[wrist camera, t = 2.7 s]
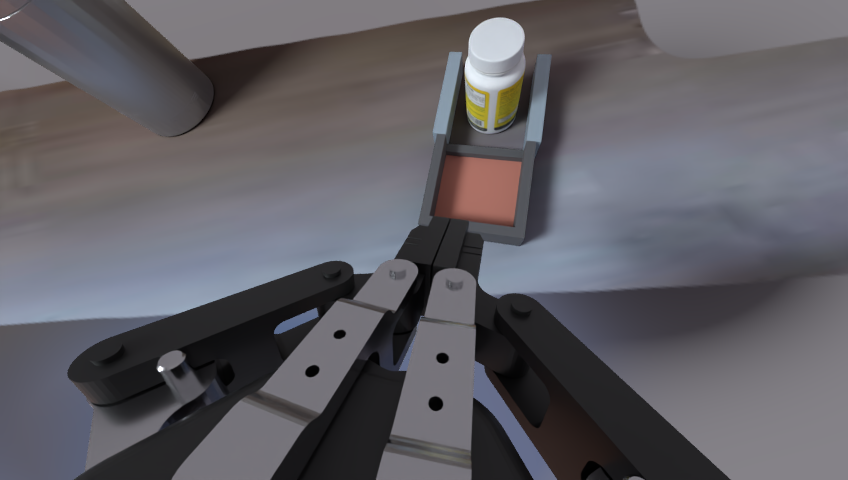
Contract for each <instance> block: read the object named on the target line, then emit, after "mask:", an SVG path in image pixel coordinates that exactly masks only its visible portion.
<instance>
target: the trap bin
mask: <svg viewBox="0 0 848 480" xmlns="http://www.w3.org/2000/svg"><path fill="white" fill-rule="evenodd" d="M535 148H536V141H526V144H525V148H524V150H516V149H504V148H493V147H481V146H469V145H458V144H447V140H446V134H437V136H436V141H435V145H434V150H433V155H432V160H431V165H430V169H429V174H428V179H427V184H426V189H425V194H424V198H423V203H422V208H421V213H420V218H419V222H418V224H419V225H421V226H428V225H429V223H430V221H431V219H432V218H433V216H439V217H446V218H451V219H452V218H454V219H461V220H468V221H469V228H468V232H470V233H477V234H480V235H481V237H482V239H483V241H489V242H495V243H502V244H509V245H516V246H520V245H521V243H522V242H523V240H524V238H525V230H526V222H527V213H528V205H529V197H530V189H531V181H532V173H533V164H534V156H535Z"/></svg>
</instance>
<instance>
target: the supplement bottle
mask: <svg viewBox="0 0 848 480" xmlns="http://www.w3.org/2000/svg"><path fill="white" fill-rule="evenodd" d="M524 42H525V35H524V31H523V29H522V27H521V26H520V25H519V24H518V23H517V22H515V21H513V20H511V19H508V18H493V19H489V20H486V21H484V22H482V23H481V24H479V25H478V26H477V27H476V28H475V29H474V30H473V32H472V33H471V36H470V39H469V53H468V54H469V56H468V57H467V60H466V63H465V89H466V107H467V118H468V121H469V123H470V125H471V126H472V127H473V128H474V129H475V130H477V131H479V132H481V133H485V134H494V133H498V132H501V131H504V130H505V129H507V128H508V127H509V126H510V125H511V124H512V123H513V121H514V119H515V117H516V114H517V108H518V103H519V98H520V93H521V88H522V82H523V77H524V72H525V56H524V53H523V48H524Z"/></svg>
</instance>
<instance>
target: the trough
mask: <svg viewBox="0 0 848 480" xmlns="http://www.w3.org/2000/svg"><path fill="white" fill-rule="evenodd" d="M551 56H552V55H549V54H538V56H537V60H536V64H535V68H534V73H533V78H532V85H531V93H530V100H529V108H528V115H527V123H526V130H525V138H524V146H523V150H524V148H525V144H526V141H536V148H535V156H534V157H536V155H537V152H538V149H539V147H540V144H541V140H542V131H543V123H544V115H545V106H546V98H547V89H548V81H549V72H550V64H551ZM462 75H463V62H462V52H450V53H449V58H448V63H447V67H446V72H445V77H444V82H443V86H442V91H441V96H440V101H439V105H438V110H437V115H436V120H435V124H434V129H433V137H434V142H435V141H436V136H437V134H446V140H447V144H449V141H450V136H451V131H452V126H453V121H454V116H455V111H456V106H457V100H458V95H459V90H460V85H461V80H462Z"/></svg>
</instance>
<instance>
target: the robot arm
mask: <svg viewBox="0 0 848 480" xmlns="http://www.w3.org/2000/svg"><path fill="white" fill-rule="evenodd" d="M0 41H1V42H2V43H4V44H6V45H7V46H9V47H11V48H13V49H14V50H16V51H18V52H19V53H21V54H23V55H25V56H26V57H28V58H29V59H31V60H33V61H34V62H36V63H38V64H39V65H41V66H43V67H45V68H46V69H48V70H50V71H51V72H53V73H55V74H56V75H58V76H60V77H61V78H63V79H65V80H66V81H68V82H70V83H71V84H73V85H75V86H76V87H78V88H80V89H82V90H83V91H85V92H87V93H88V94H90V95H92V96H93V97H95V98H97V99H98V100H100V101H102V102H103V103H105V104H107V105H108V106H110V107H112V108H114V109H115V110H117V111H118V112H120V113H122V114H123V115H125V116H127V117H128V118H130V119H132V120H134V121H135V122H137V123H139V124H140V125H142V126H144V127H145V128H147V129H149V130H150V131H152V132H154V133H156V134H158V135H160V136H166V137H167V136H176V135H179V134H182V133H184V132H186V131H188V130H190V129H191V128H193V127H194V126H196V125H197V124H198V123H199V122H200V121H201V120H202V119H203V117H204V116H205V115H206V114H207V112H208V110H209V108H210V106H211V104H212V101H213V95H214V90H213V85H212V82H211V81H210V79H209V78H208V77H207V76H206V75H205V74H204V73H203V72H202V71H201V70H200V69H199V68H197V67H196V66H195V65H194V64H193V63H192V62H191V61H190V60H189V59H188V58H187V57H185V56H184V55H183V54H182V53H181V52H180V51H179V50H178V49H177V48H176V47H175V46H174V45H173V44H172V43H170V42H169V41H168V40H167V39H166V38H165V37H164V36H163V35H162V34H161V33H160V32H158V31H157V30H156V29H155V28H154V27H153V26H152V25H151V24H150V23H149V22H148V21H146V20H145V19H144V18H143V17H142V16H141V15H140V14H139V13H138V12H137V11H136V10H135V9H133V8H132V7H131V6H130V5H129V4H128V3H127V2H126V1H125V0H0ZM468 228H469V221H468V220H461V219H454V218H452V219H451V218H446V217H439V216H433V218H432V219H431V221H430V223H429V225H428V226H421V225H419V226H418V227H416V228H415V229H413V230H411V232H410V234H409V235H408V238H407V239H406V240H405V242H404V244H403V245H402V247H401V249H400V250H399V252H398V254H397V255H396V257H395V259H393V260H389V261H386V262H384V263H382V264H381V265H380V266H379V267H378V268H377V270H376V271H375V272H374V273H370V274H354V272H353V268H352V266H351V265H350V264H348V263H346V262H342V261H330V262H326V263H322V264H320V265H317V266H314V267H311V268H308V269H305V270H302V271H299V272H297V273H294V274H291V275H288V276H285V277H282V278H279V279H277V280H274V281H271V282H268V283H265V284H262V285H259V286H256V287H254V288H251V289H248V290H245V291H242V292H239V293H236V294H233V295H231V296H228V297H225V298H222V299H219V300H216V301H213V302H211V303H208V304H205V305H202V306H199V307H196V308H193V309H190V310H188V311H185V312H182V313H179V314H176V315H173V316H170V317H168V318H165V319H162V320H159V321H156V322H153V323H150V324H147V325H145V326H142V327H139V328H136V329H133V330H130V331H127V332H125V333H122V334H119V335H116V336H113V337H110V338H108V339H105V340H103V341H101V342H99V343H97V344H95V345H93V346H92V347H90V348H88V349H87V350H86V351H84V352H83V353H82V354H80V355H79V356H78V357H77V358H76V359H75V360H74V361H73V362H72V364H71V365H70V367H69V369H68V378H69V379H70V380H71V381H72V382H73V383H74V385H75V386H76V387H77V388H78V389H79V390H80V391H81V392H82V393H83V394H84V395H85V396H86V398H87V401H88V403H89V404H90V405H91V406H92V407H93V408H94V412H93V418H92V425H91V432H90V439H89V446H88V453H87V460H86V467H85V472H84V473H82V474H81V475H79V476H78V477H77V478H75V479H74V480H533V478H532V476H531V475H530V473H529V471H528V469H527V468H526V466H525V464H524V463H523V461H522V459H521V458H520V456H519V454H518V452H517V451H516V449H515V447H514V445H513V444H512V442H511V440H510V439H509V437H508V435H507V434H506V432H505V430H504V429H503V427H502V425H501V424H500V423H499V422H498V420H497V419H496V418H495V416H494V415H493V414H492V413H491V412H490V411H489V410H488V409H487V408H486V407H485V406H484V405H482V404H481V403H480V402H479V401H478V400H476V399H475V398H473V385H474V361H477V362H479V363H481V364H482V365H484V368H485V372H486V375H487V377H488V378H489V380H490V381H491V383H492V384H493V385H494V387H495V388H496V390H497V391H498V393H499V394H500V396H501V397H502V398H503V400H504V401H505V403H506V405H507V406H508V407H509V409H510V410H511V412H512V413H513V415H514V416H515V418H516V419H517V421H518V422H519V424H520V425H521V427H522V428H523V430H524V431H525V433H526V434H527V436H528V437H529V438H530V440H531V441H532V443H533V444H534V446H535V447H536V449H537V450H538V452H539V453H540V455H541V456H542V457H543V459H544V461H545V462H546V463H547V465H548V466H549V468H550V469H551V471H552V472H553V474H554V475H555V477H556V478H557V480H730V479H729V478H728V477H727V476H726V475H725V474H724V473H723V472H722V471H720V470H719V469H718V468H717V467H716V466H715V465H714V464H713V463H712V462H711V461H710V460H709V459H708V458H706V457H705V456H704V455H703V454H702V453H701V452H700V451H699V450H698V449H697V448H696V447H695V446H694V445H692V444H691V443H690V442H689V441H688V440H687V439H686V438H685V437H684V436H683V435H682V434H681V433H679V432H678V431H677V430H676V429H675V428H674V427H673V426H672V425H671V424H670V423H669V422H667V421H666V420H665V419H664V418H663V417H662V416H661V415H660V414H659V413H658V412H657V411H656V410H654V409H653V408H652V407H651V406H650V405H649V404H648V403H647V402H646V401H645V400H644V399H643V398H641V397H640V396H639V395H638V394H637V393H636V392H635V391H634V390H633V389H632V388H631V387H630V386H629V385H627V384H626V383H625V382H624V381H623V380H622V379H621V378H619V376H617V374H616V373H614V372H613V371H612V370H611V369H610V368H609V367H608V366H607V365H606V364H605V363H604V362H603V361H601V360H600V359H599V358H598V357H597V356H596V355H595V354H594V353H593V352H592V351H591V350H590V349H588V348H587V347H586V346H585V345H584V344H583V343H582V342H581V341H580V340H579V339H578V338H577V337H575V336H574V335H573V334H572V333H571V332H570V331H569V330H568V329H567V328H566V327H564V326H563V325H562V324H561V323H560V322H559V321H558V320H557V319H556V318H555V317H554V316H553V315H552V314H551V313H550V312H548V311H547V310H546V309H545V308H544V307H543V306H542V305H541V304H540V303H539V302H537V301H536V300H534V299H533V298H531V297H529V296H526V295H523V294H516V293H512V294H506V295H504V296H502V297H500V298H499V299H497V298H495V297H493V296H491V295H489V294H487V293H486V292H484V291H483V290H482V289H481V288H480V286H479V284H478V276H479V270H480V263H481V256H482V250H483V243H484V241H483V239H482V237H481V235H480V234H477V233H470V232H468ZM316 307H317V311H318V316H319V317H317V318H315V319H313V320H310V321H308V322H306V323H304V324H301V325H299V326H297V327H295V328H292V329H290V330H288V331H286V332H283V333H281V334H274V330H275V328H276V327H277V326H278V325H279V324H280V323H282V322H283V321H285V320H288V319H290V318H293V317H295V316H297V315H300V314H302V313H305V312H306V311H309V310H312V309H314V308H316ZM420 316H424V317H421V319H420ZM419 319H420V322H419ZM418 322H419V326H418V330H417V324H418ZM416 332H417V334H416ZM415 335H416V338H415V342H414V345H413V349H412V354H411V357H410V361H409V365H408V369H407V371H399V369H400V367H401V365H402V362H403V360H404V358H405V356H406V354H407V352H408V349H409V347H410V345H411V343H412V341H413V339H414V337H415Z"/></svg>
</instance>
